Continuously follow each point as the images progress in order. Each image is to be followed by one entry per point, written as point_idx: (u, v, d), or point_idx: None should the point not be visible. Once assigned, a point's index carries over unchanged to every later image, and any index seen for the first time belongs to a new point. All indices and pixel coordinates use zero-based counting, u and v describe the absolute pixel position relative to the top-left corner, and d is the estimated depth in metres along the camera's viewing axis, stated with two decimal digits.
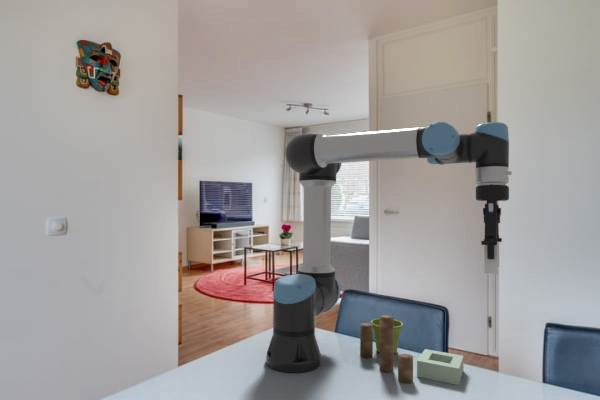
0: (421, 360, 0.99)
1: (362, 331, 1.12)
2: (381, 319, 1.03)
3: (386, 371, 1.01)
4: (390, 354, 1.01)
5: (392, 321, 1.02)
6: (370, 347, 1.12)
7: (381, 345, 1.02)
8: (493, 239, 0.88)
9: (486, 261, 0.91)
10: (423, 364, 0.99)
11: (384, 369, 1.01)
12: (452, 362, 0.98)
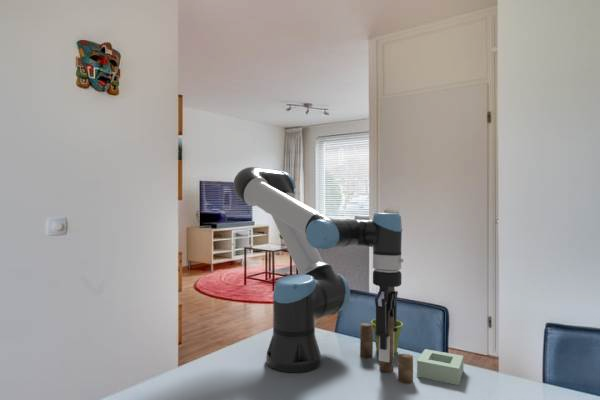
0: (421, 360, 0.99)
1: (362, 331, 1.12)
2: None
3: (386, 371, 1.01)
4: (390, 354, 1.02)
5: (392, 321, 1.02)
6: (370, 347, 1.12)
7: None
8: (383, 334, 0.98)
9: (380, 350, 1.01)
10: (423, 364, 0.99)
11: (384, 369, 1.02)
12: (452, 362, 0.98)
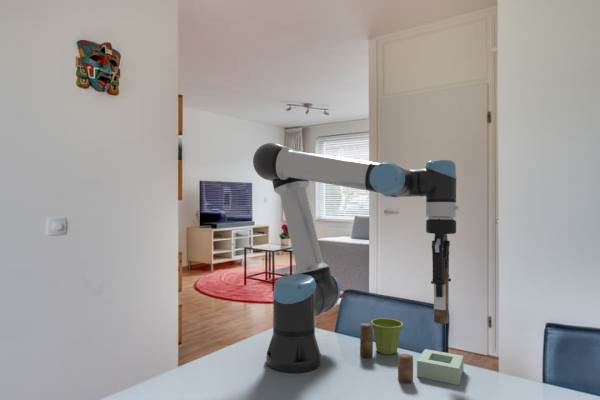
0: (421, 360, 0.99)
1: (362, 331, 1.12)
2: None
3: (442, 322, 1.00)
4: (446, 305, 1.00)
5: (447, 272, 1.01)
6: (370, 347, 1.12)
7: None
8: (440, 281, 0.97)
9: (435, 298, 1.00)
10: (423, 364, 0.99)
11: (440, 320, 1.00)
12: (452, 362, 0.98)
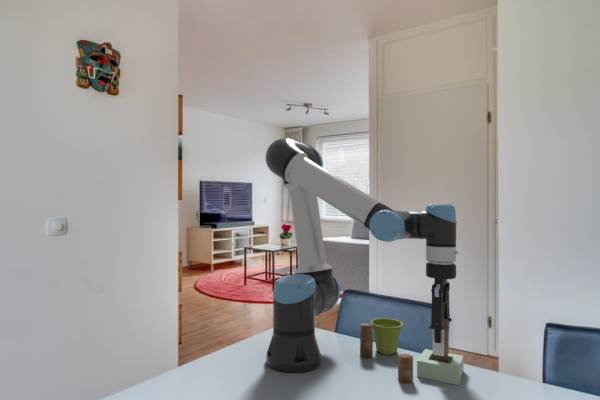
0: (421, 360, 0.99)
1: (362, 331, 1.12)
2: None
3: None
4: (445, 357, 1.00)
5: (447, 323, 1.01)
6: (370, 347, 1.12)
7: None
8: (439, 327, 0.95)
9: (434, 343, 0.98)
10: (423, 364, 0.99)
11: None
12: (452, 362, 0.98)
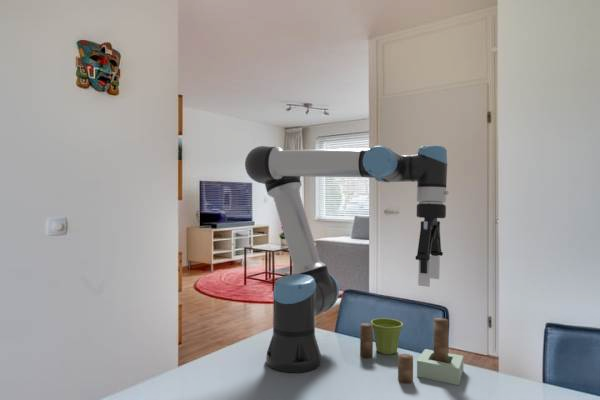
0: (421, 360, 0.99)
1: (362, 331, 1.12)
2: (435, 322, 1.01)
3: None
4: (445, 358, 1.00)
5: (447, 324, 1.00)
6: (370, 347, 1.12)
7: (436, 348, 1.01)
8: (424, 255, 0.95)
9: (420, 275, 0.98)
10: (423, 364, 0.99)
11: None
12: (452, 362, 0.98)
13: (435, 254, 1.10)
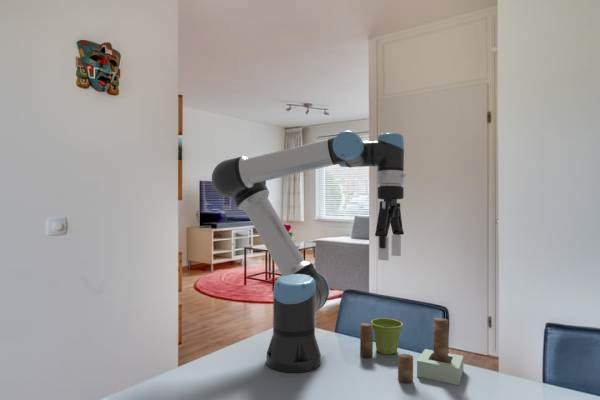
0: (421, 360, 0.99)
1: (362, 331, 1.12)
2: (435, 322, 1.01)
3: None
4: (445, 358, 1.00)
5: (447, 324, 1.00)
6: (370, 347, 1.12)
7: (435, 348, 1.01)
8: (382, 231, 1.05)
9: (379, 250, 1.08)
10: (423, 364, 0.99)
11: None
12: (452, 362, 0.98)
13: (397, 233, 1.20)
